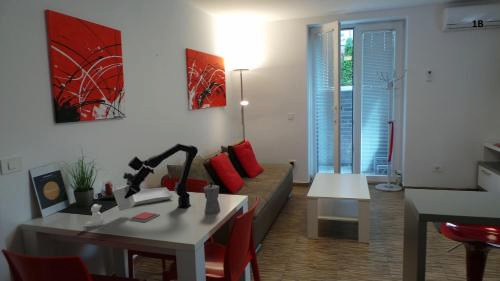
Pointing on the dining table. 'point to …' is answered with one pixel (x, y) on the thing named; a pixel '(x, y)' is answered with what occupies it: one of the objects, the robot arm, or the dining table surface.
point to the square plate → (152, 195)
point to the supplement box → (120, 199)
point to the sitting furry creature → (95, 217)
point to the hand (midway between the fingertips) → (124, 196)
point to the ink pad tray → (144, 217)
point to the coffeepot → (212, 199)
